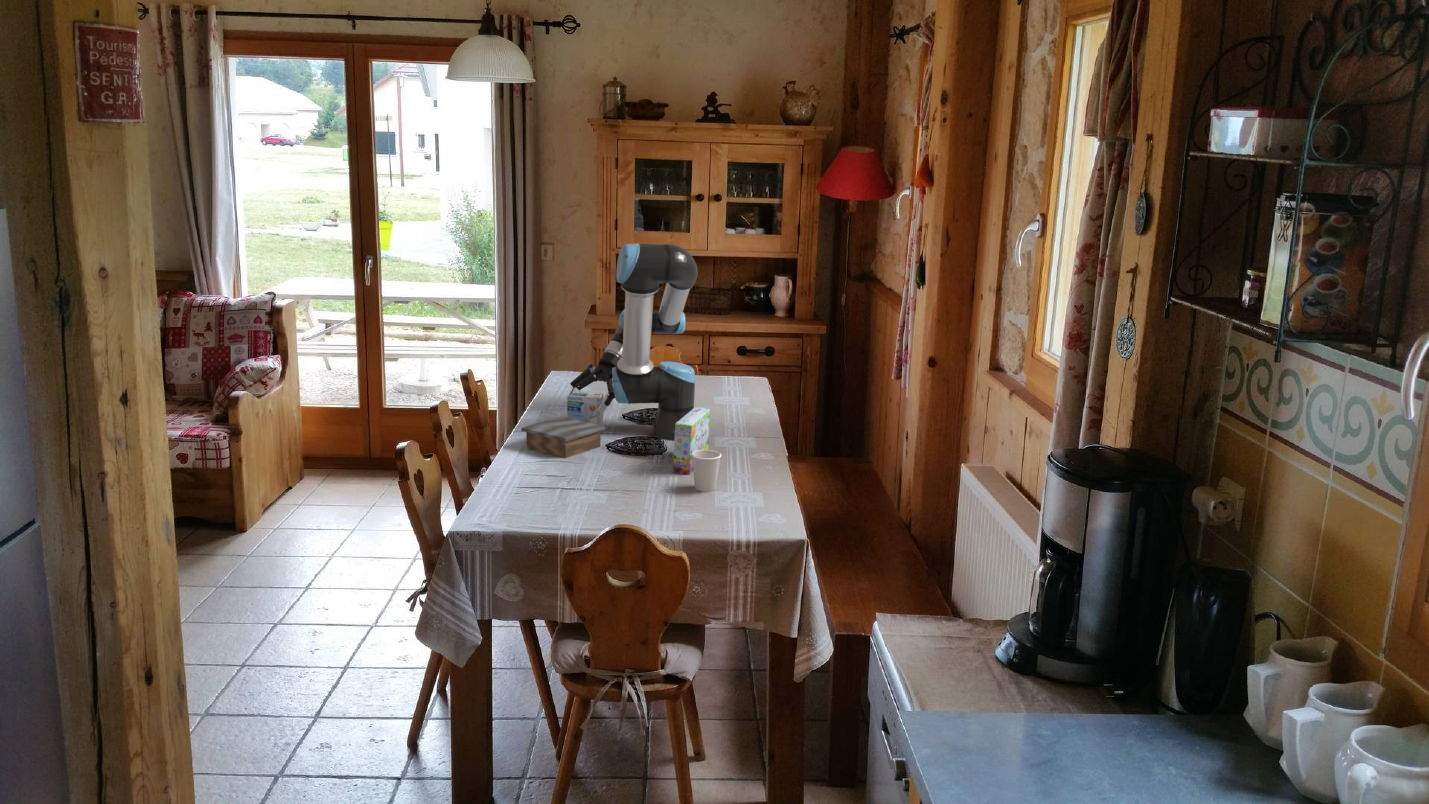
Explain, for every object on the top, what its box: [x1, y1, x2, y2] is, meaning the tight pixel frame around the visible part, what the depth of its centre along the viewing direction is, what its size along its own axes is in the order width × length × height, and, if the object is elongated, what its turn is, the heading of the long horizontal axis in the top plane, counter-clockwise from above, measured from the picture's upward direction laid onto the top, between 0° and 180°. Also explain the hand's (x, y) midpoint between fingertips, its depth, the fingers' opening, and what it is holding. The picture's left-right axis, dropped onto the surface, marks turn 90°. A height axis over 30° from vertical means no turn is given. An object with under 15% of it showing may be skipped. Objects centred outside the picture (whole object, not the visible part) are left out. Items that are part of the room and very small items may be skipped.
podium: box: [521, 415, 606, 459], centre depth 332 cm, size 18×18×6 cm
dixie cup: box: [691, 449, 722, 493], centre depth 298 cm, size 8×8×10 cm
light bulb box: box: [566, 391, 604, 426], centre depth 356 cm, size 11×7×11 cm, turn 79°
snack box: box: [672, 407, 711, 476], centre depth 319 cm, size 21×6×15 cm, turn 166°
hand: (583, 409), depth 356 cm, fingers open, 13 cm apart
